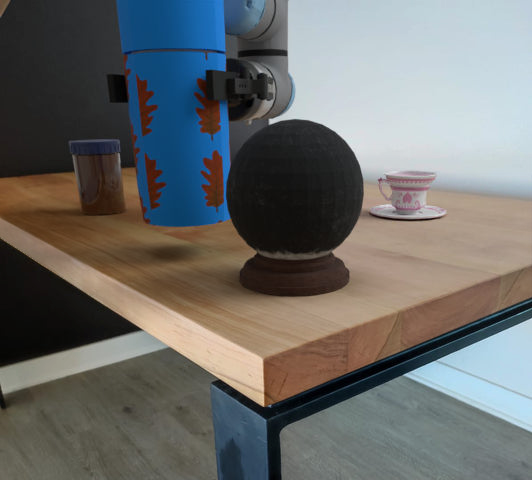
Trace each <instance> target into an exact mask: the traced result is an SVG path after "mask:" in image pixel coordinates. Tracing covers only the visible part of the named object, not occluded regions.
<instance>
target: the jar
mask: <svg viewBox="0 0 532 480" xmlns="http://www.w3.org/2000/svg"><path fill="white" fill-rule="evenodd" d="M120 154H121V152H116V153H104V154H72V162H73V168H74V174H75V180H76V186H77V187H76V188H77V192H78V193H77V194H78V200H79V206H80V212H81V214H82V215H86V216H100V215H99V214H110V215H112V214H111V213H117V214H119V213H118V212H122V213H124V212H126V211H127V204H126V195H125V186H124V178H123V170H122V163H121V155H120ZM125 210H126V211H125ZM123 211H124V212H123Z"/></svg>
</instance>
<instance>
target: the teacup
mask: <svg viewBox="0 0 532 480" xmlns="http://www.w3.org/2000/svg"><path fill="white" fill-rule="evenodd" d="M439 175H440V173H439V172H436V171H430V170H429V171H428V170H393V171H385V172H383V176H384V177H385V178H382V177H380V178H377V181H378V189H379V192H380V194H381V195H382V196H383V198H384V199H385V200H386V201H388V202H390V203H389V204H387V203H386V204H379V205H375V206H372V207H370V208H369V213H370V214H371V215H373V216H374V215H375V216H377V217H382V218H388V219H396V220H425V219H426V220H427V219H434V218H439V217H443V216H445V215H446V214H447V210H446V209H445V208H442V207H440V206H436V205H429V204H427V193H428V191H429V189H430V188H431V184H432V183H433V182H434V181H435V180H436V179H437V177H438V176H439ZM383 183H387V184H388V185H389V187H390V189H391V195H390V197H388V196H387V194H385V192H384V190H383V187H382V184H383Z"/></svg>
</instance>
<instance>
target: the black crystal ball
mask: <svg viewBox="0 0 532 480" xmlns="http://www.w3.org/2000/svg"><path fill="white" fill-rule="evenodd" d="M364 195H365V189H364V177H363V173H362V167H361V165H360V162H359V160H358V158H357V155H356V154H355V152H354V151H353V149H352V148H351V146H350V145H349V143H348V142H347V141H346V140H345V139H344V138H343V137H342V136H341V135H340V134H338V132H337V131H335V130H333V129H331V128H330V127H328V126H326V125H324V124H323V123H319V122H316V121H314V120H313V121H312V120H309V119H302V118H301V119H300V118H292V119H283V120H279V121H276V122H273V123H269V124H267V125H266V126H264V127H262V128H260V129H259V130H257V131H255V132H254V133H253V134H252V135H251V136H250V137H249V138H248V139H246V140H245V141H244V143H243V144H242V145H241V147H240V148H239V149H238V151H237V152H236V153H235V156H234V158H233V160H232V162H231V167H230V170H229V174H228V178H227V183H226V201H227V208H228V212H229V215H230V220H231V223H232V225H233V227H234V228H235V230H236V231H237V234H238V236H240V238H241V239H242V240H243V241H244V243H246V244H247V245H248V247H249V248H251V249H252V250H254V251H255V252H256V253H255V254H254V255H253V256H252V257H250V258H249V259H247V260H246V261H245V262H244V264H243V267H242V268H241V269H240V270H239V274H238V275H239V283H240V285H241V286H243V287H244V288H245V289H248V290H250V291H254V292H257V293H260V294H266V295H270V296H281V297H282V296H283V297H284V296H285V297H306V296H317V295H322V294H327V293H331V292H336V291H338V290H341V289H342V288H344V287H346V286H347V285H348V284H349V283H350V269H349V268H348V267H346V263H345V262H344V261H343V259H341V258H339V257H338V256H336V255H335V254H334V253H333V251H334V250H336V249H338V247H340V246H341V245H342V244H343V243H344V242H345V241H346V240H347V239H348V237H349V236H350V235H351V233H352V232H353V230H354V228H355V226H356V225H357V223H358V221H359V217H360V215H361V213H362V210H363V203H364Z"/></svg>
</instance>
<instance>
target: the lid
mask: <svg viewBox="0 0 532 480" xmlns="http://www.w3.org/2000/svg"><path fill="white" fill-rule="evenodd" d="M120 141H121V140H120V139H118V138H117V139H114V138H108V139H106V138H104V139H101V138H100V139H98V138H97V139H80V140H79V139H77V140H69V141H68V149H69V153H70V154H72V155H73V154H104V153H116V152H119V153H121V151H122V147H121V142H120Z"/></svg>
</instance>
